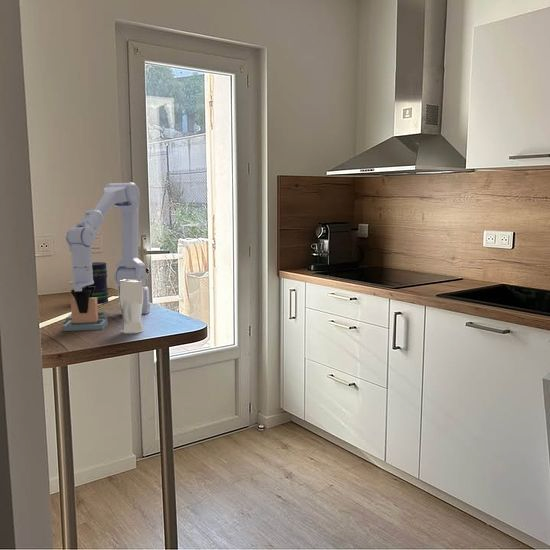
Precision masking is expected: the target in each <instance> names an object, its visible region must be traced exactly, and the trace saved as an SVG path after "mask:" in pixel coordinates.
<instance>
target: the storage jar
mask: <svg viewBox="0 0 550 550" xmlns="http://www.w3.org/2000/svg"><path fill="white" fill-rule="evenodd" d="M92 270H93V281H94V284H92V285H90V286H95V287H96V288H95V290H94V293H93V296H92V297H97V303H98V305H103V304H107V303H109V289H108V288H109V287H108V281H107V278H108V269H107V262H103V261H102V262H99V261H98V262H93V261H92Z"/></svg>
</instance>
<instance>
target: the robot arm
mask: <svg viewBox="0 0 550 550" xmlns="http://www.w3.org/2000/svg"><path fill="white" fill-rule="evenodd" d="M102 191H103V195H102V196H101V198H100V200H99V201H98V202H97V204H96V206H95V207H94V208H93V209H89V210H86V211H85V213H84V216H83V217H82V218H81V219H80V220H79V221H78V223H77V224H76V226H73V227H70V228H69V229H68V230H67V232H66V236H65V241H66V243H67V245H68V250H69V252H71V253H70V255H71V268H72V269H71V270H72V281H68V285H72V286H73V288H74V289H71V290H70V291H71V294H72V296H73V298H75V300H76V303H77V306H78V310H79V312H80V313H87V311H88V302H89V297H92V296H93V293H94V290H95V288H96V287H95V286H90V285H92V284H94V281H93V270H92V263H93V257H92V256H93V255H92V246H93V244H94V243H95V242H96V235H97V232H98V231H99V229H100V228H101V227H102V225H103V224H104V222H105V218H104V216H105V215H106V214H107V213H108V212H109V211H110V210H111V209H112V208H113V206H114V207H116V209H119V210H120V212H121V213H122V215H121V217H122V218H121V220H122V221H121V222H122V224H121V229H122V231H121V234H122V235H121V236H122V238H121V242H122V243H121V247H122V248H121V251H122V252H121V254H122V255H121V259H120V260H119V261H118V262H116V265H115V271H114V276H113V278H114V281H115V284H116V285H118V281H120V280H126V279H140V280H142V287H143V306H142V314H141V315H143V314H145V315H146V314H148V313H149V312H150V310H151V309H150V307H151V304H150V290H149V287H148V286H145V284H146V283H147V280H148V273H147V270H146V264H145V263H144V262H143V261H142V260H141V259H139V208H140V205H141V204H140V201H141V199H140V197H141V194H140V192H141V191H140V189H139V187H138V185H137V184H136V183H135V182H132V181H131V182H119V183H118V182H115V183H112V182H109V183H107V184H106V185H105V187H104V188H103V189H102ZM118 315H119V316H120V315H121V316H122V313H121V311H120V312H118Z"/></svg>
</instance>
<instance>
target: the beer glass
mask: <svg viewBox="0 0 550 550" xmlns="http://www.w3.org/2000/svg"><path fill="white" fill-rule="evenodd" d="M117 286H118V287H117V288H118V289H117V292H118V295H117V297H118V304H119V308H120V312H121V313H122V315H121V316H122V317H121V318H122V327H121V333H122V334H127V335H132V334H133V335H134V334H140V333H142V332H144V328H143V323H142V315H143V314H142V306H143V287H144V286H143V287H142V280H140V279H126V280H120V281H118V284H117Z"/></svg>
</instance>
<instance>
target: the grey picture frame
mask: <svg viewBox="0 0 550 550" xmlns="http://www.w3.org/2000/svg"><path fill="white" fill-rule="evenodd" d="M108 324H109V322H108V318H106V319H98V321H97V322H83V323H72V321H68V322H66V323H65V324H63V325H62V332H69V331H70V332H72V331H75V332H76V331H97V330H101V331H102V330H104V329H105V328H106V327H107V325H108Z"/></svg>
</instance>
